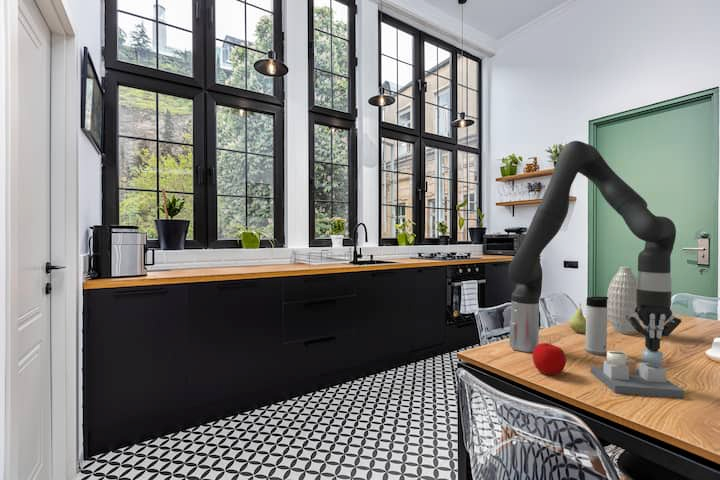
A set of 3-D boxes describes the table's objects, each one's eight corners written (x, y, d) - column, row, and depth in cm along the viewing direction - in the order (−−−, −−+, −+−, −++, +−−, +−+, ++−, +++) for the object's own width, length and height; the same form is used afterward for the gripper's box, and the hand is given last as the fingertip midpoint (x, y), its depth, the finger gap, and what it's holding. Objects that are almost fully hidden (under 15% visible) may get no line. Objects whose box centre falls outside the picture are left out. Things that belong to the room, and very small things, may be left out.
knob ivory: (611, 377, 100) (611, 354, 100) (603, 371, 104) (603, 349, 104) (628, 378, 99) (629, 355, 99) (620, 372, 103) (620, 350, 103)
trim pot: (623, 373, 104) (624, 356, 104) (618, 369, 107) (618, 353, 107) (635, 373, 103) (635, 357, 103) (629, 369, 106) (629, 354, 106)
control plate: (614, 393, 95) (615, 372, 95) (590, 372, 109) (591, 354, 109) (684, 398, 92) (684, 376, 92) (650, 376, 106) (650, 358, 106)
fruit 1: (573, 376, 106) (573, 343, 106) (548, 380, 104) (549, 345, 103) (548, 365, 115) (549, 334, 115) (525, 368, 112) (525, 336, 112)
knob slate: (647, 376, 98) (648, 352, 98) (638, 370, 102) (638, 347, 102) (666, 377, 97) (666, 353, 97) (655, 371, 102) (656, 348, 102)
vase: (606, 327, 163) (607, 265, 162) (642, 331, 156) (643, 266, 155) (605, 333, 153) (606, 267, 152) (643, 338, 145) (645, 269, 145)
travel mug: (611, 356, 124) (612, 298, 124) (589, 354, 125) (590, 297, 125) (602, 350, 130) (603, 295, 130) (582, 349, 132) (583, 294, 131)
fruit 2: (568, 332, 153) (569, 304, 153) (570, 329, 160) (570, 302, 159) (587, 335, 150) (587, 306, 149) (588, 331, 156) (588, 303, 155)
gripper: (634, 289, 97) (633, 353, 97) (690, 291, 95) (689, 356, 95) (619, 285, 104) (618, 345, 105) (671, 287, 102) (670, 347, 102)
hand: (652, 350), depth 100 cm, fingers closed
